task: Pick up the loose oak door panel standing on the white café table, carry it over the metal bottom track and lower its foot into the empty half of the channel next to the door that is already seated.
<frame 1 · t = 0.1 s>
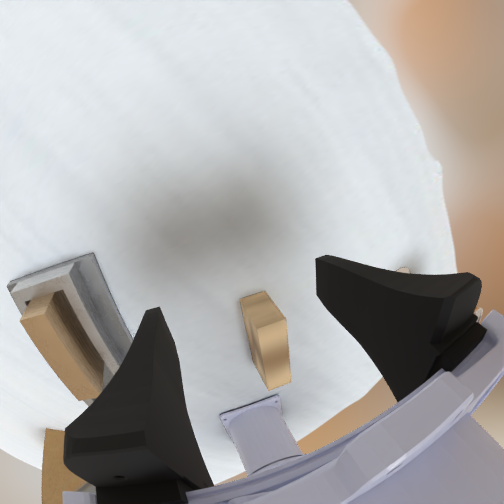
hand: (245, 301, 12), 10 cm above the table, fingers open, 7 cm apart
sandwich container: (101, 446, 27), on the table
door: (258, 329, 26), on the table
track: (101, 366, 22), on the table
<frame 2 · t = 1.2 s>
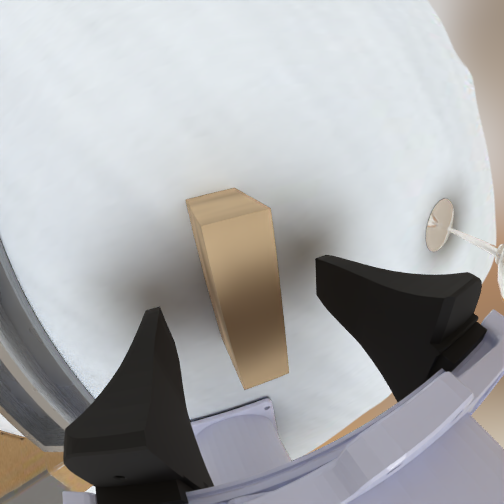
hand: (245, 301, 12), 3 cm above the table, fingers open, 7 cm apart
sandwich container: (36, 452, 15), on the table
door: (225, 270, 15), on the table
wineglass: (439, 224, 20), on the table
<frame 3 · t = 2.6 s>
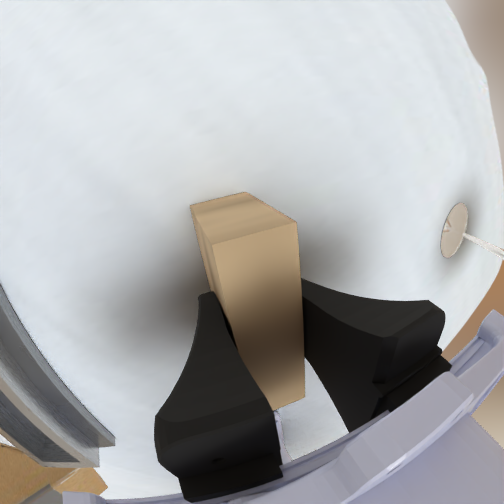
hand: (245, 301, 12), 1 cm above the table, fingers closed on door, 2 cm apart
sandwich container: (37, 464, 14), on the table
door: (235, 285, 13), on the table, touching gripper
wineglass: (453, 230, 19), on the table
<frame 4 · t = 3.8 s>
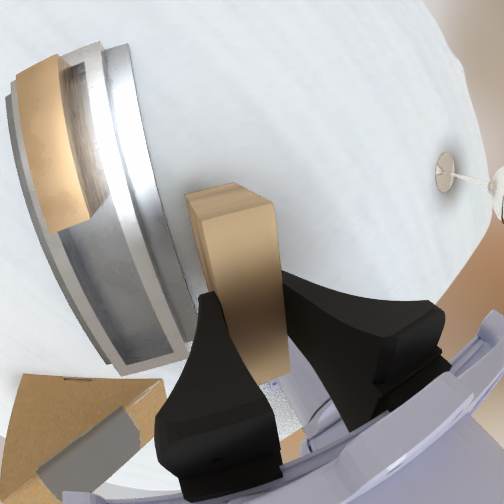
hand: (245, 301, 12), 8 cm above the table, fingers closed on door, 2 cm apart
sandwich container: (98, 401, 22), on the table
door: (226, 267, 14), point 5 cm above the table, touching gripper
track: (98, 223, 16), on the table
wineglass: (444, 172, 26), on the table
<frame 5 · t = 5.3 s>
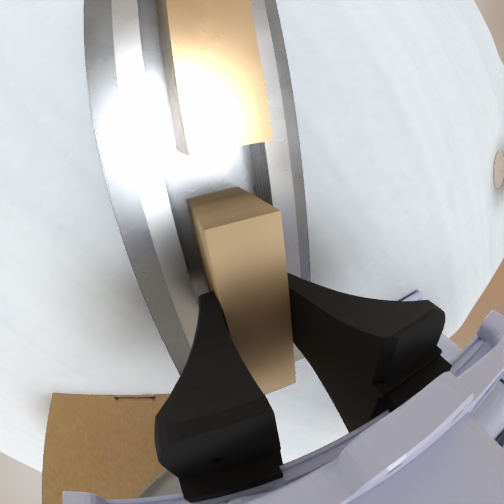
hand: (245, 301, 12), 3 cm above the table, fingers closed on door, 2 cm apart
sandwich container: (154, 421, 18), on the table
door: (229, 274, 14), point 1 cm above the table, touching gripper, track
track: (207, 176, 12), on the table
wineglass: (498, 169, 22), on the table
when the fingers open (3 cm above the table, at t = 5.8 s): door stays where it is, resting on track.
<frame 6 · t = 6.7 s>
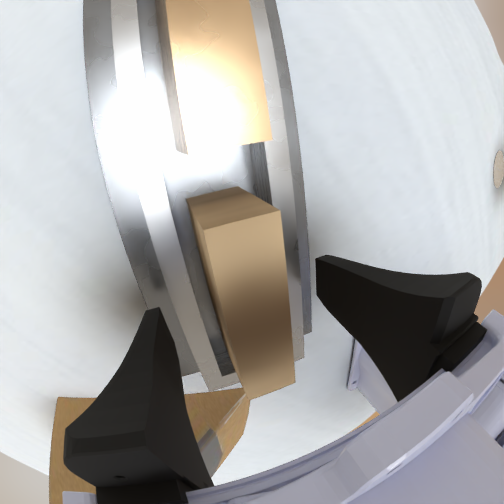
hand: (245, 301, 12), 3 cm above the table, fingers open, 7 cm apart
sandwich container: (159, 422, 18), on the table
door: (229, 274, 14), point 1 cm above the table, touching track
track: (207, 175, 12), on the table
wineglass: (498, 169, 22), on the table
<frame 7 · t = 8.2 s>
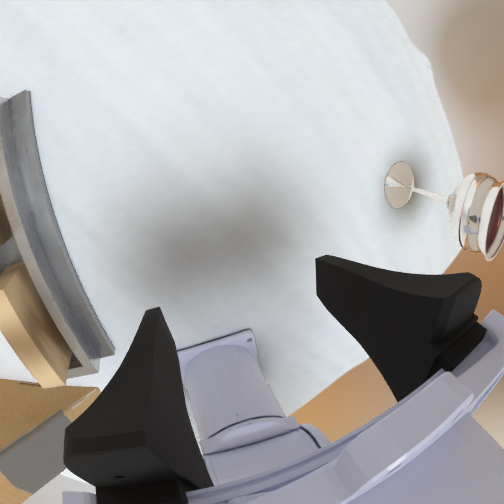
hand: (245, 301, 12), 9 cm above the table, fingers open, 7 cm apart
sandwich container: (52, 404, 21), on the table
door: (39, 310, 16), point 1 cm above the table, touching track
track: (17, 251, 15), on the table
wineglass: (399, 184, 25), on the table
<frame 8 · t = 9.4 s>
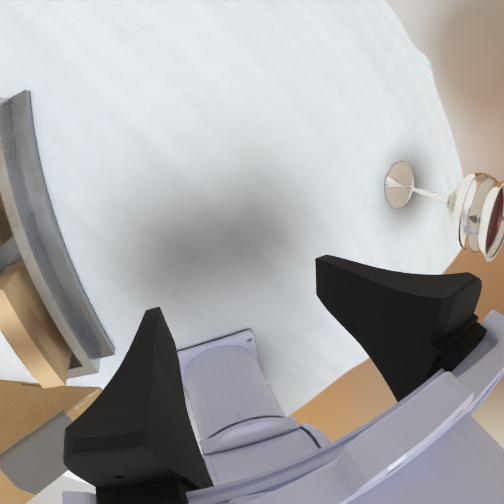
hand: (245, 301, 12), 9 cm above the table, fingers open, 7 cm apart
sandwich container: (55, 405, 21), on the table
door: (39, 310, 16), point 1 cm above the table, touching track
track: (17, 251, 15), on the table
wineglass: (399, 184, 25), on the table
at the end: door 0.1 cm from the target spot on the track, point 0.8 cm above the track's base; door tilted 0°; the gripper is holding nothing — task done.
